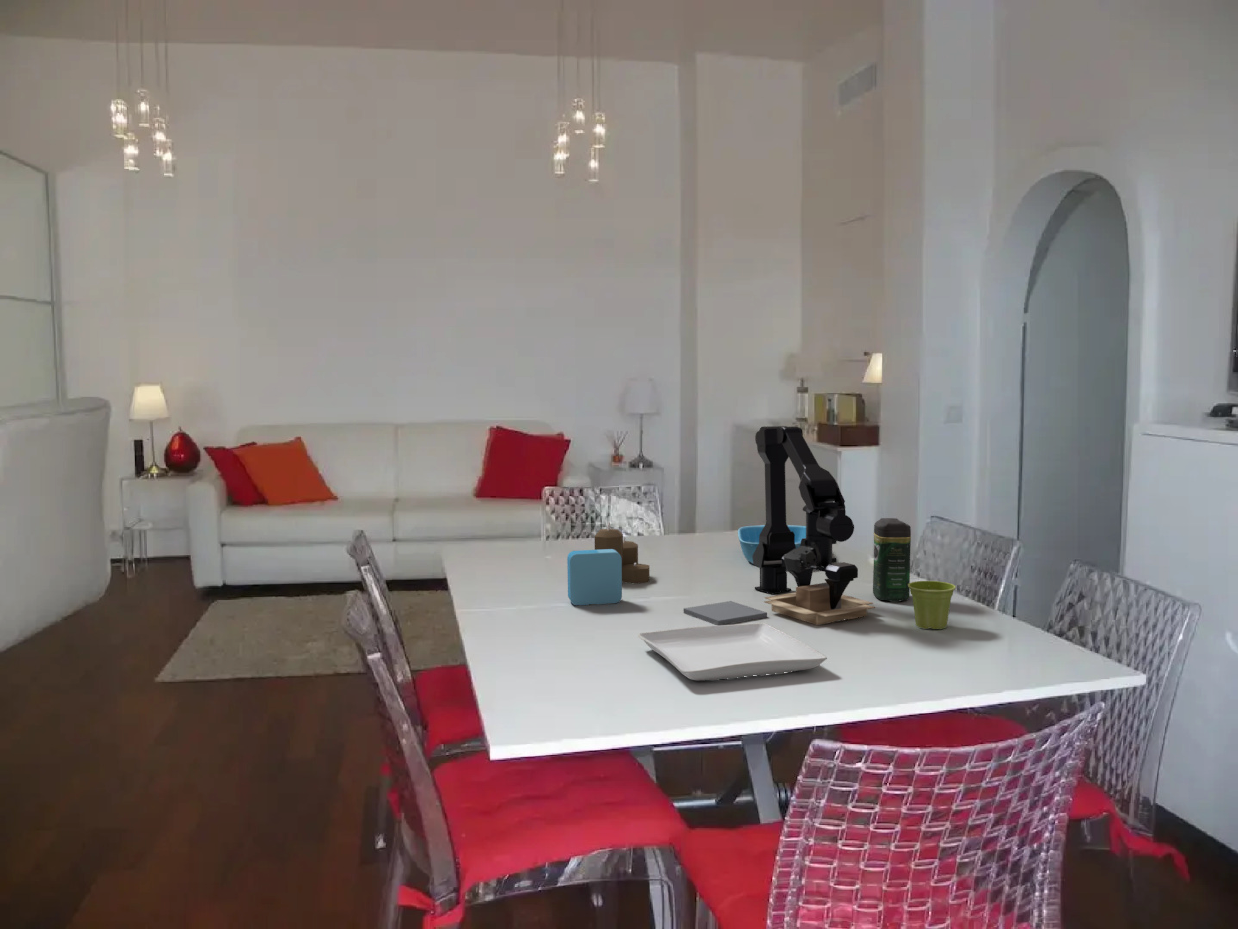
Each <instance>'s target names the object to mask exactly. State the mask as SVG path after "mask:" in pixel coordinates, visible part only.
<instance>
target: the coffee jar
mask: <svg viewBox="0 0 1238 929" xmlns="http://www.w3.org/2000/svg"><path fill="white" fill-rule="evenodd" d="M911 532H912V529H911V525H909V524H908V523H907V522H904V521H903V520H900V519H899V518H897V517H896V518H895V517H894V518H893V517H885V518H884V517H883V518H882V517H881V518H880V519H879V520H877V521H875V523H874V526H873V568H872V569H873V572H872V573H873V575H872V594H873V596H874V597H875V598H877V599H878V600H881V601H889V602H891V603H892V602H894V603H896V602H901V601H908V600H909V599H910V596H911V595H910V594H911V592H910V588H909V587H908V584H909V583H911V578H910V577H911V575H910V574H911V542H912V536H911V534H912V533H911Z"/></svg>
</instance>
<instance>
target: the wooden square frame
mask: <svg viewBox="0 0 1238 929" xmlns="http://www.w3.org/2000/svg"><path fill="white" fill-rule="evenodd" d="M764 599H766V600H765V601H764V602H763V603H766V604H769V605H770V606H771V611H772V612H773V613H774V612H775V613H777V614H780V615H784V616H788V617H791V618H792V619H793V618H794V619H796V620H800V619H801V620H800V621H803V620H804V621H803V622H806V621H807V623H810V624H812V625H816V626H820V625H825V623H826V624H830V623H831V622H832V623H835V622H834V621H837V622H840V621H839V620H842V621H845V620H844V619H848V620H854V619H857V618H858V617H859V618H864V617H867V613H868V612H867V611H868V610H871V609H876V606H872V605H874V602H872V601H869V600H865V599H861V598H857V597H852V596H850V595H846V594H844V593H843V594H842V596H841V609H835V610H830V611H824V612H818V613H817V612H814V611H811V610H807V609H804V608H801V607H797V606H796V591H795V592H790V593H785V594H784V593H783V594H778V595H777V594H776V595H771V596H766V597H764ZM863 616H864V617H863Z"/></svg>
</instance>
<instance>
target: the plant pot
mask: <svg viewBox="0 0 1238 929" xmlns="http://www.w3.org/2000/svg"><path fill="white" fill-rule="evenodd" d="M908 587H909V588H910V594H911V596H912V605H913V611H914V618H915V626H916V627H918V628H920V629H923V628H924V629H923V630H928V629H933V630H935V629H939V630H943V629H946V628H947V626H948V621H949V614H950V607H951V601H952V596H953V594H954V590H956V588H957V587H956V585H955V584H953V583H950V582H946V581H940V580H939V581H938V580H918V581H912V582H911V581H910V583H909V584H908Z"/></svg>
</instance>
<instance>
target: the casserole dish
mask: <svg viewBox="0 0 1238 929" xmlns="http://www.w3.org/2000/svg"><path fill="white" fill-rule="evenodd" d="M764 526H765V524H760V525H747V526H741V527H739V528H738V530H737V535H738V541H739V544H740V548H741V552H742V554H743V556H744V558H745V559H746V560H747V562H749V563H751V564H752V565H754V564H753V558H752V556H753V554H754V552H755V550H756V548H757V546H758V544H759V535H760V533H761V531H762V530H763V528H764ZM787 526H788V527H789V529H790V530H791V531H793V532H794V534H795V546H796V548H798V547H800V545H801V540H802V538H806V525H795V524H794V525H793V524H791V525H790V524H787Z"/></svg>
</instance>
